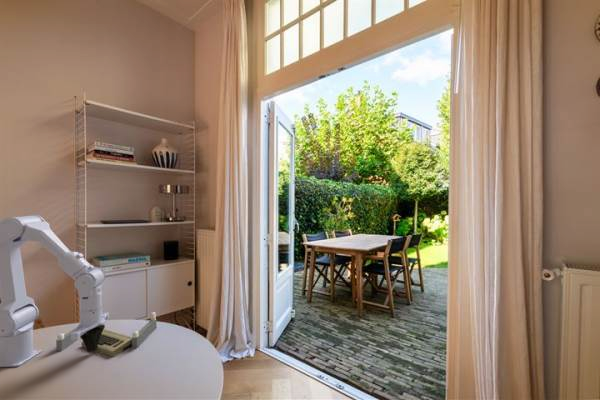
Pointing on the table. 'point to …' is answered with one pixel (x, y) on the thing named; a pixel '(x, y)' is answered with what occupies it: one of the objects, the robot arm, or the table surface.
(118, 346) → the computer
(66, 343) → the dock
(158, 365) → the table surface
